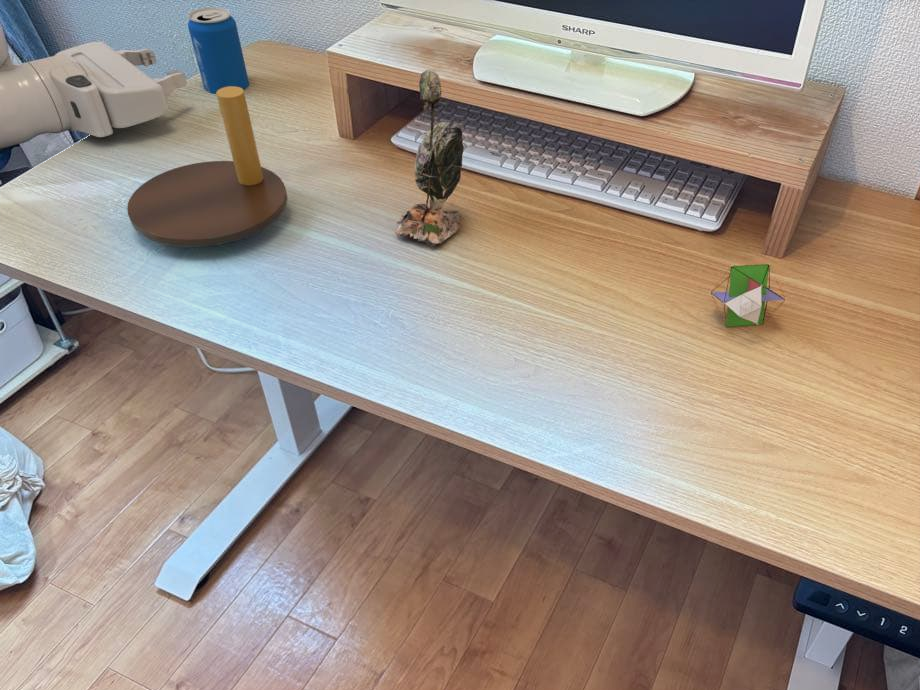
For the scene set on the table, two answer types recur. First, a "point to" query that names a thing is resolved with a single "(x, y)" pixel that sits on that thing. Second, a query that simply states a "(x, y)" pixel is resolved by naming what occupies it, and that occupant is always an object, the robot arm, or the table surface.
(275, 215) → the tray
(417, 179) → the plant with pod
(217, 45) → the beverage can
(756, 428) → the table surface
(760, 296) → the geometric puzzle
